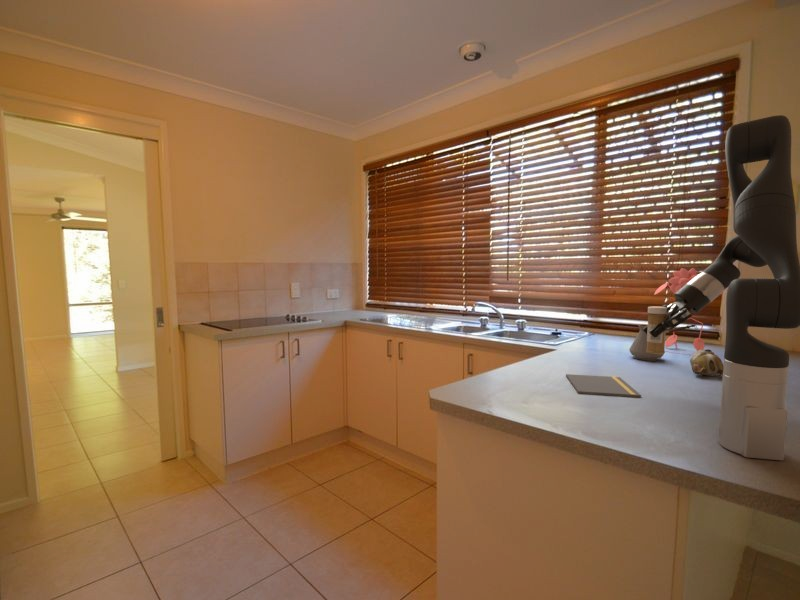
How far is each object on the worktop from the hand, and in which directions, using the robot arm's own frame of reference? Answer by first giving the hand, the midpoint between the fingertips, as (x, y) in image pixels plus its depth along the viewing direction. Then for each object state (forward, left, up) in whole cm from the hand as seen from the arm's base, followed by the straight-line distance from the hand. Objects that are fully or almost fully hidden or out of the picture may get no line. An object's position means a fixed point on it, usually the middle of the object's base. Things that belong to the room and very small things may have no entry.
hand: (648, 333), depth 113 cm
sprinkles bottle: (0, -2, -6) cm, 6 cm away
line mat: (0, +12, -16) cm, 20 cm away
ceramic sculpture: (+21, -26, -17) cm, 37 cm away
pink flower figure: (+59, -34, -16) cm, 70 cm away
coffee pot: (+39, -19, -16) cm, 46 cm away
